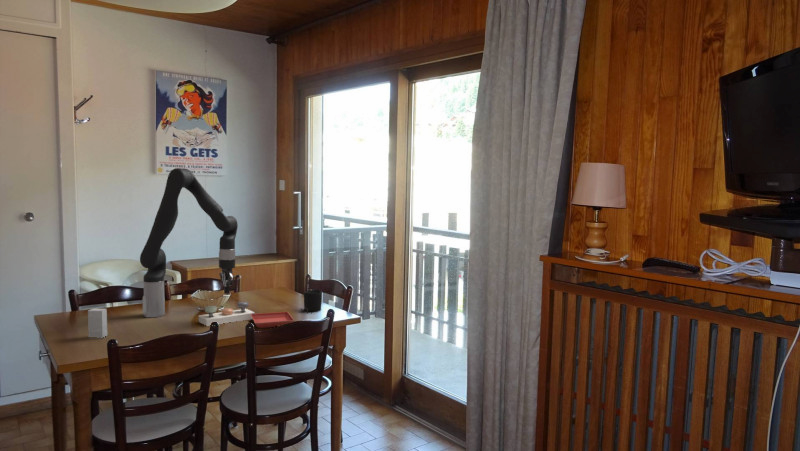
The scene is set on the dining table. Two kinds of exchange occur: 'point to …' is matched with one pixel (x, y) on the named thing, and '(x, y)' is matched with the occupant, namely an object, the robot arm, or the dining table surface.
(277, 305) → the dining table surface
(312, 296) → the pen holder
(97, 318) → the skincare box
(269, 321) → the plant saucer
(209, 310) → the sage button
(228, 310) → the terracotta button
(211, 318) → the button board
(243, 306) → the charcoal button
